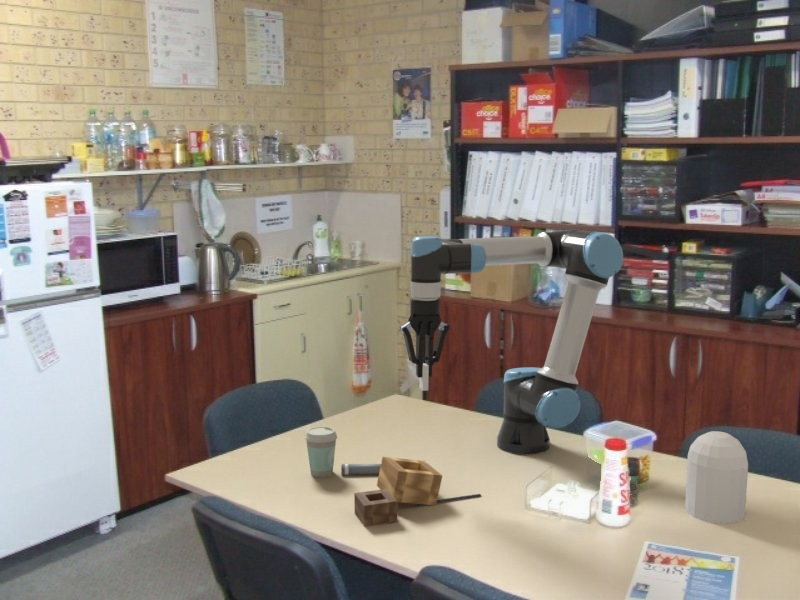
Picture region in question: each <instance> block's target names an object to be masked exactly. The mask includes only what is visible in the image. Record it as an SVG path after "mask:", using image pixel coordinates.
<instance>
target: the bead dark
mask: <svg viewBox="0 0 800 600" xmlns="http://www.w3.org/2000/svg"><path fill="white" fill-rule="evenodd" d="M353 497H354V514H355V515H356V517H357V518H358V520H359V521H360V523H361V524H362V525H363V527H368V526H369V527H370V526H375V525H383V524H390V523H396V522H398V502H397V500H396V499H395V498H394V497H393V496H392V495H391V493H390V492H389V491H388V490H387V489H382V490H381V489H376V490H375V489H374V490H367V491H359V492H354V496H353Z"/></svg>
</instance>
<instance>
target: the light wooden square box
mask: <svg viewBox="0 0 800 600" xmlns="http://www.w3.org/2000/svg"><path fill="white" fill-rule="evenodd" d="M380 464H381V467H380V472H379V474H378V476H377V477H378V478H377V483H376V486H377V488H379V490H382V489H387V490H388V491H389V492H390V493H391V495H392V496H393V497H394V498H395V499H396V500H397V503H404V504H406V503H407V504H417V505H418V504H427V505H429V506H430V505H431V506H434V505H437V504H438V503H437V500H439V493H440V490H441V484H442V481H443V480H442V478H443V474H441V473H440V472H439V471H438V470H436V469H435V468H434V467H433V466H432V465H430V464H429V463H428V462H427V461H426V460H419V459H418V460H417V459H411V458H410V459H407V458H399V457H391V456H390V457H389V456H382V458H381V463H380ZM427 505H426V506H427Z"/></svg>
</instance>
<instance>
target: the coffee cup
mask: <svg viewBox="0 0 800 600" xmlns="http://www.w3.org/2000/svg"><path fill="white" fill-rule="evenodd" d="M304 439H305V441H306V448H307V454H308V461H309V469H310V471H309V472H310V475H311V476H312V477H315V478H326V477H330V476H331V475H333V473H334V466H335V453H336V445H337V439H338V435H337V431H336V429H334V428H333V427H330V426H315V427H311V428H309V429H307V431H306V433H305V437H304Z"/></svg>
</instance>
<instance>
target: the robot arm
mask: <svg viewBox="0 0 800 600" xmlns="http://www.w3.org/2000/svg"><path fill="white" fill-rule="evenodd" d="M410 246H411V248H410V297H412V298H411V299H410V301H409V302H410V303H409V305H410V307H409V311H410V312H409V313H410V316H409V317H408V321H407V323H405V324H404V325H402V324H401V325H400V326H399V330H400V331H401V333H402V335H403V338H404V343H405V347H406V350H407V356H408V361H409V362H410V363H412V364H414V365H415V375H416V377H417V378H419V379H418V380H419V387H418V388H419V390H421V391H422V392H425V391H426V392H427V391H429V378H431V377H432V376H433V366H434V364H435V363H439V362H440V360H441V357H442V356H441V355H442V351H443V347H444V343H445V340H446V335H447V333H448V332H449V330H450V328H451V326H450V325H449V324H447V323H445V322H443V321H442V317H441V300H440V297H441V294H442V293H441V292H442V291H441V288H442V287H441V286H442V285H441V282H442V279H441V278H442V275H446V274H453V275H454V274H471V275H472V274H475V273H481V272H482V271H483V270H484V269H485V267H486V266H505V265H506V266H507V265H508V266H509V265H527V264H533V265H534V264H538V265H539V266H540V267H544V268H545V267H552V268H553V267H554V268H560V269H564V270H565V273H564V276H565V278H566V280H567V286H566V289H565V293H564V296H563V299H562V303H561V305H560V309H559V310H560V311H559V314H558V316H557V320H556V323H555V327H554V331H553V333H552V338H551V342H550V344H549V348H548V352H547V354H546V359H545V362H544V365H543V366H542V367H535V366H534V367H531V366H530V367H529V366H528V367H516V368H514V367H513V368H510V369H508V370H506V371H505V373H504V377H503V419H502V423H501V426H500V429H499V432H498V435H497V437H496V446H497V448H498V449H499V450H501V451H504V452H507V453H511V454H515V455H516V454H517V455H537V454H542V453H545V452H546V451H548V450H549V449H550V447H551V446H550V442H551V440H550V437H549V434H548V430H547V427H549V428H552V429H562V428H563V429H564V428H566V427H567V426H568V425H570V424H571V423H573V422H574V421H575V419H576V418H577V417H578V415H579V413H580V409H581V400H580V398H579V394H578V393H577V391H578V390H577V389H578V387H579V381H578V379H577V378H576V374H577V373H576V372H577V369H578V366H579V362H580V359H581V356H582V351H583V349H584V345H585V341H586V338H587V335H588V331H589V329H590V326H591V325H590V324H591V322H592V318H593V315H594V310H595V307H596V305H597V301H598V297H599V293H600V291H602V290H603V289H604V288H606V287H607V286H608V283H609V281H610V278H611V277H614V276H615V274H617V273H619V271H620V269H621V268H622V266H623V263H624V252H623V248H622V246H621V244H620V242H619V241H618V239H617V237H614V236H613V235H611V234H610V233H606V232H602V231H595V230H594V231H593V230H583V229H577V228H576V229H574V228H573V229H565V230H557V231H549V232H547V231H544V232H539V233H538V234H537V235H536V236H513V237H512V236H510V237H507V236H506V237H484V238H482V237H478V238H459V239H458V238H453V239H450V238H449V239H442V238H441V237H439V236H431V235H430V236H429V235H428V236H427V235H421V236H415V237H414V238H412V241H411V245H410ZM411 328H412V329H411ZM437 329H438V331H437ZM412 330H413V332H414V333H415V346H414V343H413V342H414V341H413V338H412V335H411V331H412ZM436 331H437V336H436V340H435V342H434V338H435V333H436ZM424 340H425V342H424ZM424 343H425V346H424ZM414 347H415V348H414ZM424 347H425V349H424ZM424 351H425V352H424ZM424 353H425V354H424ZM424 355H425V356H424ZM424 357H425V358H424ZM424 359H425V360H424ZM424 361H425V363H424Z"/></svg>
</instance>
